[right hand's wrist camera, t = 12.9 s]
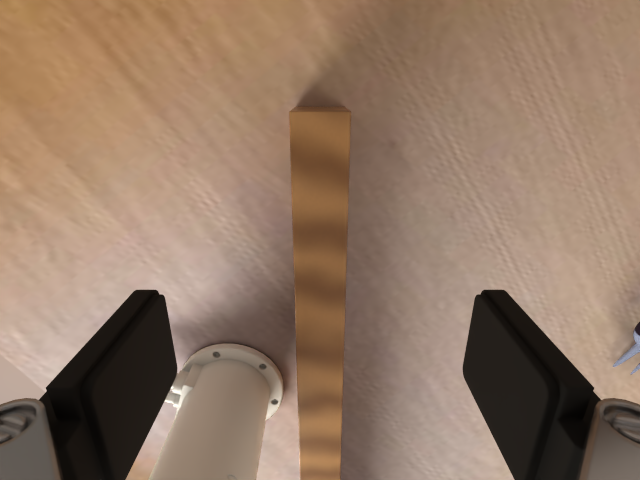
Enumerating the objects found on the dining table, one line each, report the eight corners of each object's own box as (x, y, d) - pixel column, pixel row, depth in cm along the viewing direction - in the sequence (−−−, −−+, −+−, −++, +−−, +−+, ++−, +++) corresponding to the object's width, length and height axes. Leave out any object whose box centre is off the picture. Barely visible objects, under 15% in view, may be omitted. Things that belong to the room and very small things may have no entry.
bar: (295, 106, 34) (289, 111, 27) (344, 106, 34) (350, 111, 27) (305, 551, 59) (303, 611, 52) (334, 551, 59) (336, 611, 52)
